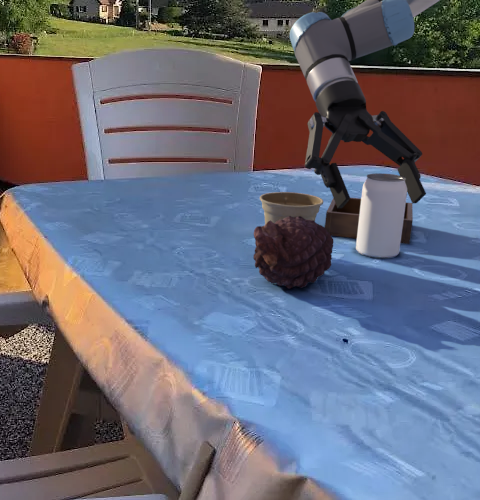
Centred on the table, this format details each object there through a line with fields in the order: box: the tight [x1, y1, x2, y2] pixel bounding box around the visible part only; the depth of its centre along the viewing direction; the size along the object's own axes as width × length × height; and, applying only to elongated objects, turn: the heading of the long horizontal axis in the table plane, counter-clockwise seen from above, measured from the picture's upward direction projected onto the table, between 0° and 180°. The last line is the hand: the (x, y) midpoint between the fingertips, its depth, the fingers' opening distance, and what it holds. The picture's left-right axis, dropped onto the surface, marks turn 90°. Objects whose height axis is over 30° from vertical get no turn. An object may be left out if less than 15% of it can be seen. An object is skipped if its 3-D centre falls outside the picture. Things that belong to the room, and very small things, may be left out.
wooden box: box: [324, 197, 414, 245], centre depth 123 cm, size 14×14×4 cm
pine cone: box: [253, 216, 334, 290], centre depth 95 cm, size 18×10×10 cm
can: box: [355, 172, 408, 259], centre depth 109 cm, size 6×6×12 cm
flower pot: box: [259, 191, 324, 225], centre depth 108 cm, size 9×9×9 cm
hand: (382, 201), depth 108 cm, fingers open, 13 cm apart
